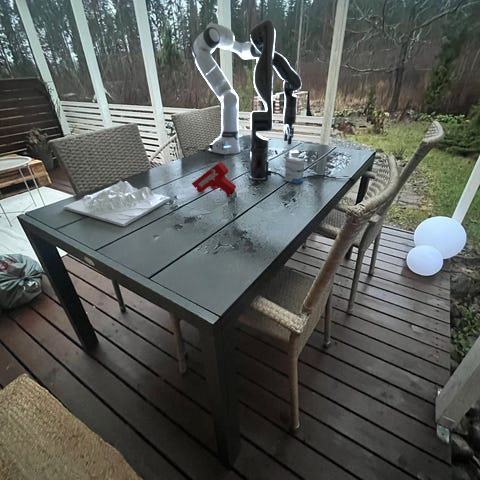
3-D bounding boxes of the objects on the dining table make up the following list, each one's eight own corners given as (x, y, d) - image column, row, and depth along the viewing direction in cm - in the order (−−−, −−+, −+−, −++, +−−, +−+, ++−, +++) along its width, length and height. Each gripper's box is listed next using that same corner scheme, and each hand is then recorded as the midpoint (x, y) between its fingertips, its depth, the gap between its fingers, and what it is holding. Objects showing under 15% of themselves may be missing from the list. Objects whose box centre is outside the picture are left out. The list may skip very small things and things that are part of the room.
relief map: (124, 226, 104) (120, 214, 101) (64, 208, 117) (60, 197, 114) (169, 200, 124) (168, 189, 121) (115, 187, 137) (112, 177, 135)
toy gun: (240, 187, 127) (221, 160, 123) (237, 190, 124) (218, 163, 120) (214, 205, 137) (195, 180, 133) (210, 208, 134) (191, 183, 130)
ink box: (302, 181, 142) (305, 159, 136) (297, 184, 139) (300, 161, 133) (289, 177, 147) (291, 156, 141) (284, 180, 144) (285, 158, 138)
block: (289, 157, 180) (289, 150, 177) (296, 157, 180) (297, 150, 178) (290, 159, 176) (291, 152, 174) (298, 159, 177) (298, 152, 174)
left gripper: (256, 64, 204) (255, 85, 211) (260, 64, 187) (259, 87, 194) (264, 64, 204) (263, 85, 212) (269, 64, 187) (268, 86, 195)
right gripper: (299, 116, 158) (296, 145, 167) (292, 112, 170) (290, 139, 179) (286, 117, 157) (284, 145, 167) (280, 113, 169) (278, 140, 178)
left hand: (261, 86), depth 203 cm, fingers open, 8 cm apart
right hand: (287, 142), depth 173 cm, fingers open, 8 cm apart
